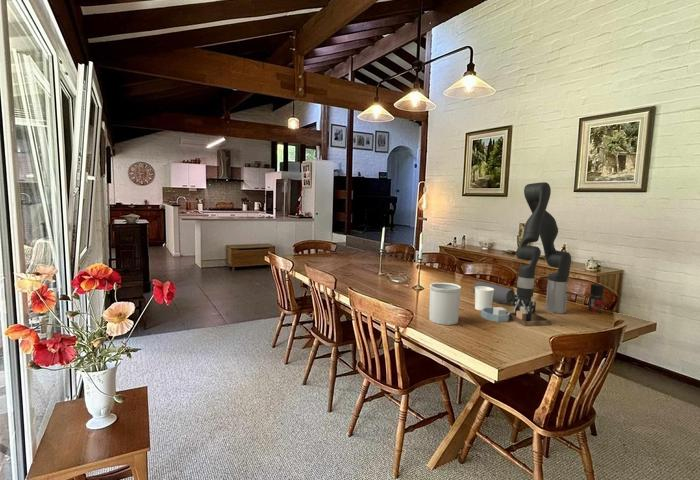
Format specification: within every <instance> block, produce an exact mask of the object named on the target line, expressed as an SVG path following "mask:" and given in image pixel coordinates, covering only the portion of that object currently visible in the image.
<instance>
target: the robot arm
mask: <svg viewBox="0 0 700 480" xmlns="http://www.w3.org/2000/svg"><path fill="white" fill-rule="evenodd" d="M551 192H552V190H551V185H550V183H548V182H546V181H545V182H533V183H528V184H526V185H525V186H524V189H523V194H524V199H525V201H526V204H527V206H528V207H529V209H530V212H531V214H530V216H529V218H527V220H526V222H525V225H524V229H523V236H522V238H521V241H520V243H519V244H518V245H517V246H518V247H517V249H516V253H515V255H516V257H517V258H518V259H519V260H525V261H530V263H527V264H524V263H523V264H520V265H519V267H518V277H517V282H516V291H515V294H517V295H513V302H512V303H511V304H512V306H513V307H515V316H516V312H517V311H520V309H519V308H520V307H521V306H522V307H524V309H525V310H526V313H527V314H526V321H531V315H532V314H536V307H537V302H536V301H531V297H532V298H533V297H534V291H535V274H536V267H537V264H538V262H539V260H540V258H541V254H542V250H541V248H540V247H539V246H534V245H529V244H530V243H537V242H538V241H539V239H540V241H541V244H542V247H543V252H544V258H545V262H546V264H547V265H548V266H549V267H551V268H557V271H556V272H554V273H549V274H548V276H547V284H546V294H545V295H546V298H545V307H544V309H545V310H546V311H548V312H550V313H553V314H564V313H567V312H566V311H567V306H568V305H567V304H568V294H567V287H568V279H569V276H570V270H571V264H572V256H571V254H570V253H569V252H568V251H562V250H557V249H556V247H555V240H556V238H557V236H558V234H559V227H558V225H557V224H558V223H557V221H556V219H555V218H554V216H553V215H552V214H551V213H550V212H548V211H547V207H548V205H549V201H550V198H551ZM515 302H516V304H515ZM528 306H529V307H528ZM528 309H529V311H528Z"/></svg>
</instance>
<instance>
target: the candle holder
mask: <svg viewBox="0 0 700 480" xmlns="http://www.w3.org/2000/svg"><path fill="white" fill-rule="evenodd" d="M493 294H494V289H493V288H491V287H486V286H477V287H475V294H474V309H476V311H480V312H481V310H482V309H483V308H488V307H493V302H492V301H493Z"/></svg>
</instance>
